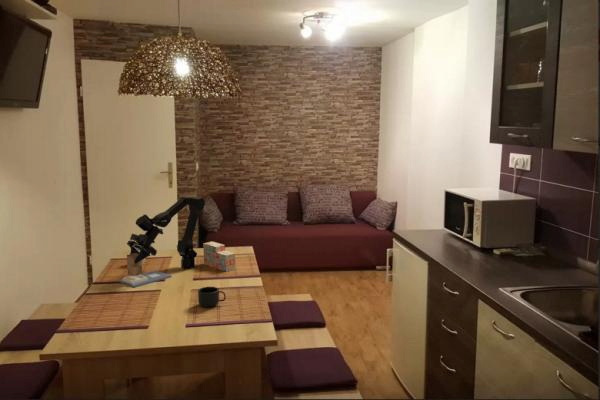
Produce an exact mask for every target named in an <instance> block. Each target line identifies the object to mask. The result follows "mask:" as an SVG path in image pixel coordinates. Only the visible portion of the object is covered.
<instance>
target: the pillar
mask: <svg viewBox="0 0 600 400" xmlns="http://www.w3.org/2000/svg"><path fill="white" fill-rule="evenodd" d="M138 255H139V254H137V253H133V254H130V253H129V254H126V266H127V276H128V275H129V276H137V275H140V274H143V264H142V260H141V261H139V262H138V263H134V262H135V260H136V258H137V256H138Z"/></svg>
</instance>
